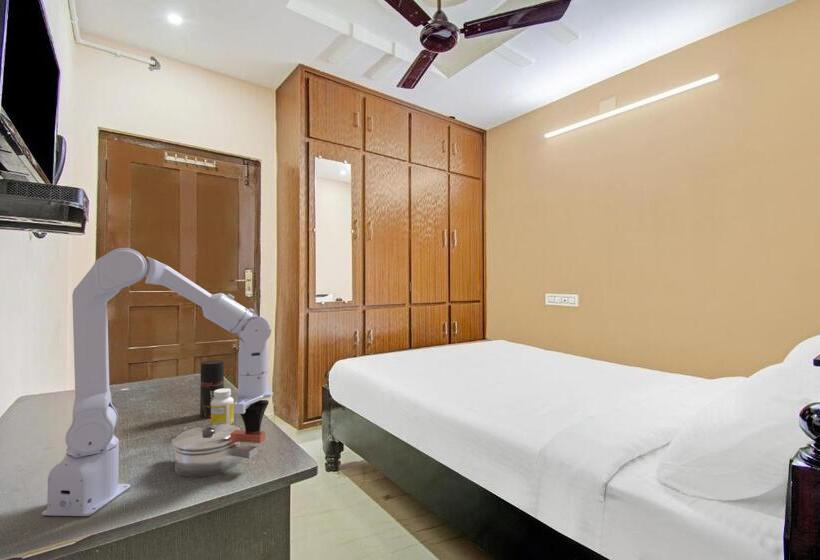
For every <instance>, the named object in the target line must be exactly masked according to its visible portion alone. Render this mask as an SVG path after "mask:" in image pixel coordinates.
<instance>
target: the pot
mask: <svg viewBox="0 0 820 560" xmlns="http://www.w3.org/2000/svg"><path fill="white" fill-rule="evenodd" d="M175 438H176V437H173V439H171V447H173V450H174V452H175V454H174V455H175V456H174V457H175V460H174V461H175V462H174V463H175V464H174V468H175V469H174V472H175V473H176V475H178V476H180V477H184V478H193V479H194V478H205V477H206V478H207V477H211V476H215V475H219V474H222V473H225V472H227V471H228V470H230V469H233V468H234V467H235V466H236V465H237V464H238V463H239V462H240V458H244V459H251V458H252V457H254V456H255V455H257V454H258V446H256V445H254V446H253V445H247V444H241V442H233V443H231V444H229V445H226V446H223V447H220V448H216V449H211V450H205V451H184V450H180V449H177V448H176V447H175V445H174V440H175Z"/></svg>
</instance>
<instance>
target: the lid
mask: <svg viewBox="0 0 820 560" xmlns="http://www.w3.org/2000/svg"><path fill="white" fill-rule="evenodd" d="M174 438H175V440H174V445H175V447H176V448H177V449H180V450H184V451H205V450H211V449H216V448H220V447H223V446H226V445H229V444H231V443H233V442H240V443H251V444H261V443H262V442H264V441H265V440H266V431H261V430H260V431H247V430H245V429H243V430H242V429H241V428H240V427H239V426H237V425H235V424H234V425H228V424H215V425H211V424H207V425H203V426H197V427H194V428H191V429H188V430H185V431H182V432H181V433H179V434H178V435H177V436H176V437H174Z"/></svg>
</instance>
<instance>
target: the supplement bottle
mask: <svg viewBox="0 0 820 560" xmlns="http://www.w3.org/2000/svg"><path fill="white" fill-rule="evenodd" d="M231 395H232V389H231V388H224V389H218V390H215V391H214V397H215V399H213V400H212V401H211V418H210V425H215V424H228V425H234V426H235V418H234V417H235V414H233V404H234V403H235V400H234V398H233V397H232V396H231Z"/></svg>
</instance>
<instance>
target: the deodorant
mask: <svg viewBox="0 0 820 560" xmlns="http://www.w3.org/2000/svg"><path fill="white" fill-rule="evenodd" d="M224 372H225V361H224V360H222V359H210V360H209V359H208V360H204V361H202V362H200V386H199V387H200V394H199V395H200V397H199V398H200V400H199V403H200V404H199V407H200V408H199V417H200V418H202V419H211V401H212V400H213V399H215V397H214V391H215V390H218V389H224V387H225V386H224V385H225V383H224V381H225V378H224V377H225V375H224V374H225V373H224Z"/></svg>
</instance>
